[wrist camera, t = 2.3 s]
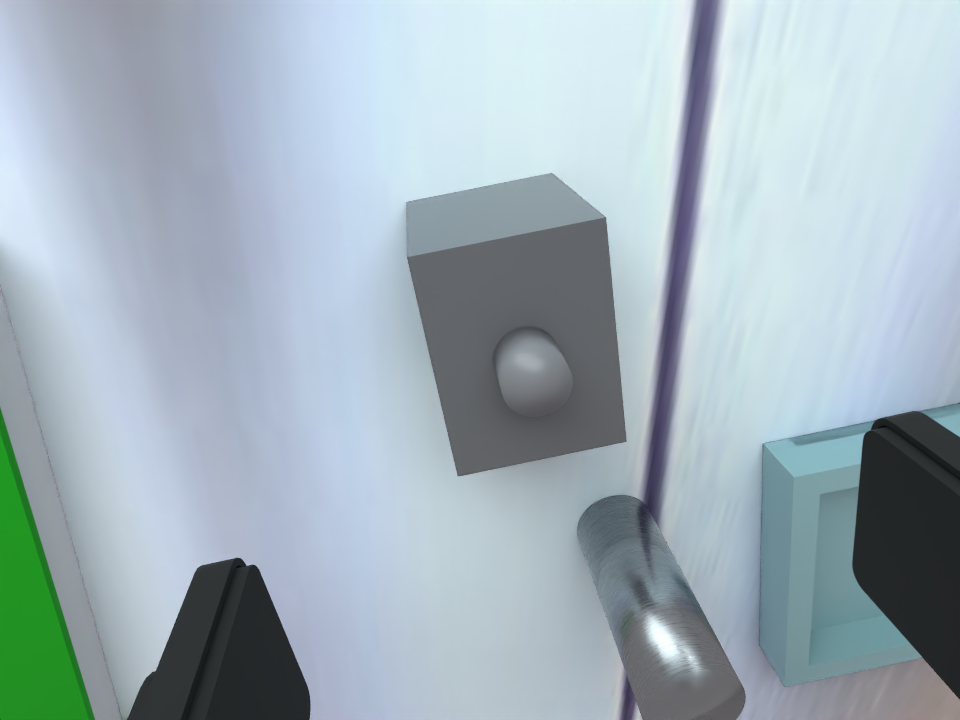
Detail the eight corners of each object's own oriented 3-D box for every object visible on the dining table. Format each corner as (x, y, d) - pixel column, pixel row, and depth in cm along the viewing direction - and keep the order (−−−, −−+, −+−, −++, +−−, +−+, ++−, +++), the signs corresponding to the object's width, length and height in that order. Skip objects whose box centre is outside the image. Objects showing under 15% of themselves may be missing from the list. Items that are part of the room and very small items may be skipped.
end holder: (1017, 391, 25) (1068, 420, 23) (972, 600, 30) (1012, 638, 28) (763, 443, 25) (793, 477, 23) (759, 644, 30) (784, 687, 28)
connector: (551, 172, 20) (626, 234, 13) (573, 348, 23) (645, 474, 16) (406, 201, 20) (407, 278, 13) (444, 374, 23) (462, 512, 16)
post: (649, 488, 25) (745, 661, 18) (653, 547, 27) (745, 730, 19) (573, 504, 25) (639, 684, 18) (581, 562, 27) (646, 752, 19)
